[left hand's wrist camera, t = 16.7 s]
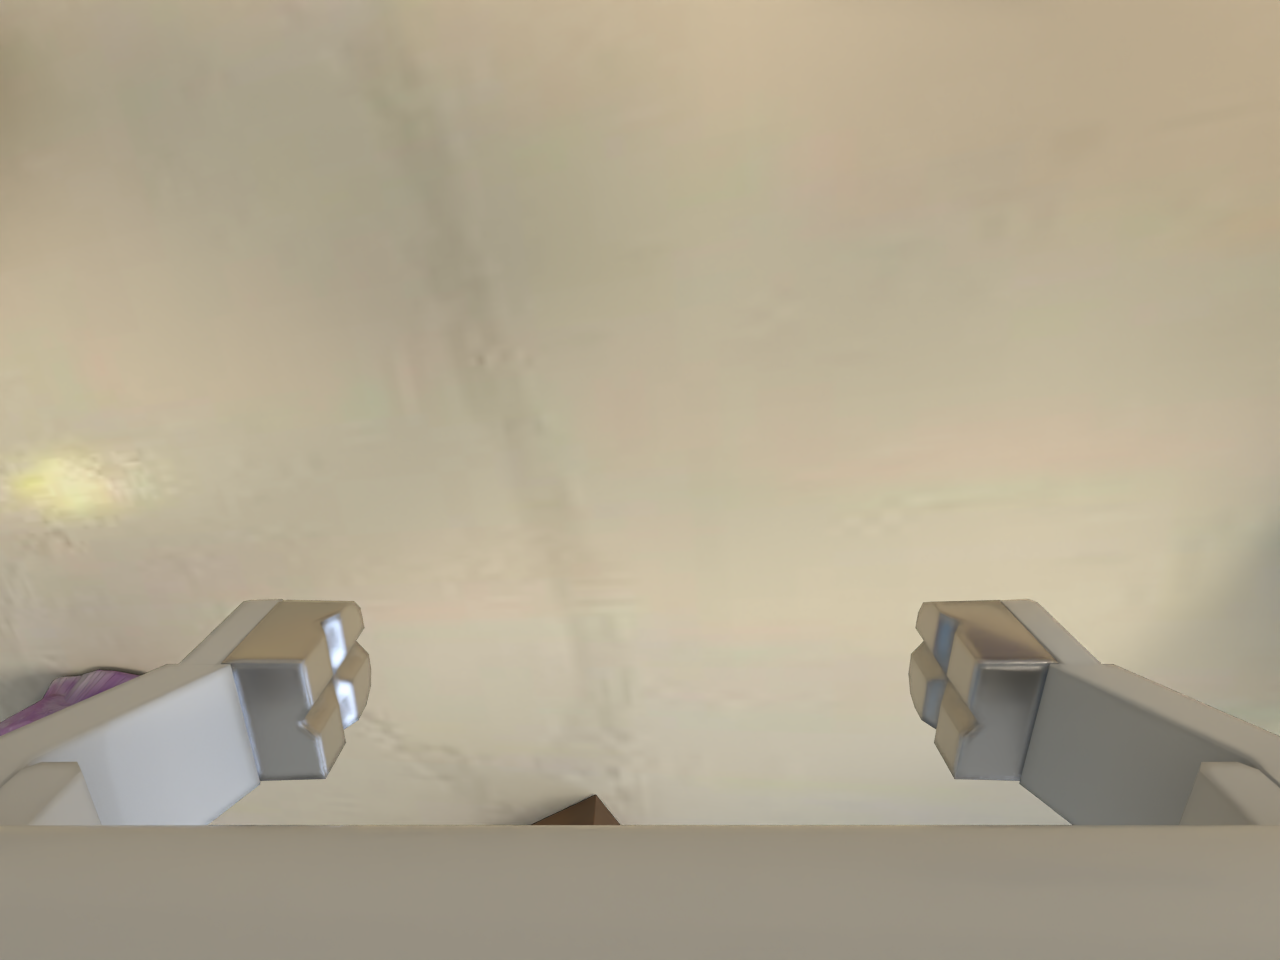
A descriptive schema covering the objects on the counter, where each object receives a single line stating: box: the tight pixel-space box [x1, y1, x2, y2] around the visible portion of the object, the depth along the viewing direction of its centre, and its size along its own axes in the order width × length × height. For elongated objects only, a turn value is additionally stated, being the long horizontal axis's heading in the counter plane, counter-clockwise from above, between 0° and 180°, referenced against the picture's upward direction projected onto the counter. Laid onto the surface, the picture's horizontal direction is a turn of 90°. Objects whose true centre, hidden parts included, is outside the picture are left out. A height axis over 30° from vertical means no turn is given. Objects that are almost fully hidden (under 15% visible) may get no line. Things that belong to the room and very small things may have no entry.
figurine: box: [0, 669, 140, 736], centre depth 42 cm, size 9×10×15 cm
